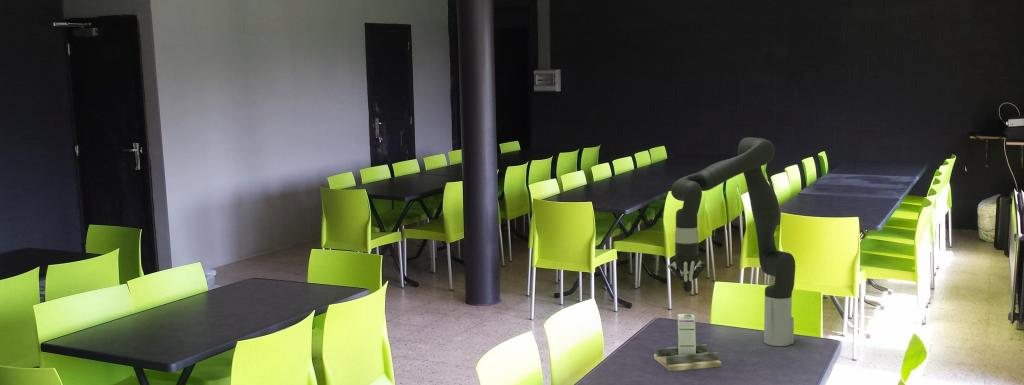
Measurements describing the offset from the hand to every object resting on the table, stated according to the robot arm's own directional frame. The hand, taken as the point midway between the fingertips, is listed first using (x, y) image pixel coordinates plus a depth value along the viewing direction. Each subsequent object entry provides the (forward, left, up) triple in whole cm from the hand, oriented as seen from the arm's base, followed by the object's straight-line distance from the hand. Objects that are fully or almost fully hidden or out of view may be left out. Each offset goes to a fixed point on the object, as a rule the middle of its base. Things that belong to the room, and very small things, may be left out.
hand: (686, 291), depth 296 cm
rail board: (0, 0, -24) cm, 24 cm away
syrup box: (0, 0, -23) cm, 23 cm away
